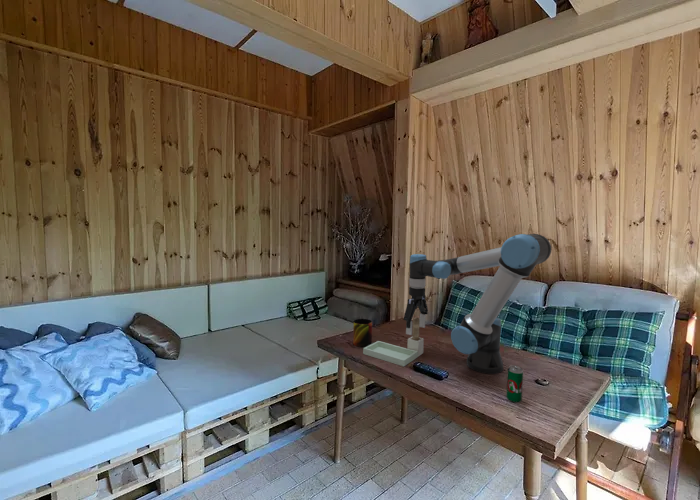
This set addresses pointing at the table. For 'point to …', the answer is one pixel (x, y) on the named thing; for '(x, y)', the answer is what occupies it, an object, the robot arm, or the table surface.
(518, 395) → the soda can
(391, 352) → the tray
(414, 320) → the dowel
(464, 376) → the table surface
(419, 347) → the cup
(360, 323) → the mug
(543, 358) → the table surface
